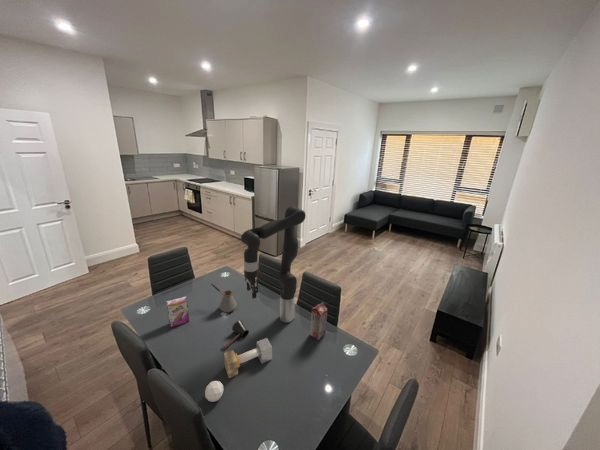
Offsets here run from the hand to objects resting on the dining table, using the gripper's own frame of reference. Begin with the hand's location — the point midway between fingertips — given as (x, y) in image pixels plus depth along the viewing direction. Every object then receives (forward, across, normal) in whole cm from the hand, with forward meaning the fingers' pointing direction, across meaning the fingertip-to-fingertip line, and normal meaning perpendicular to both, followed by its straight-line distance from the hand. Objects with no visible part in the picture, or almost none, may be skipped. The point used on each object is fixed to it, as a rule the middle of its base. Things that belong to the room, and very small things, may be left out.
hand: (251, 293), depth 134 cm
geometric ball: (+30, -26, +27) cm, 48 cm away
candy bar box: (+30, +33, +36) cm, 57 cm away
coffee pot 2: (+31, +4, +10) cm, 32 cm away
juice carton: (+30, -16, -36) cm, 50 cm away
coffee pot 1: (+30, +37, +8) cm, 48 cm away
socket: (+30, -16, +17) cm, 38 cm away
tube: (+28, -16, +7) cm, 33 cm away
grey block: (+30, -16, -1) cm, 34 cm away
